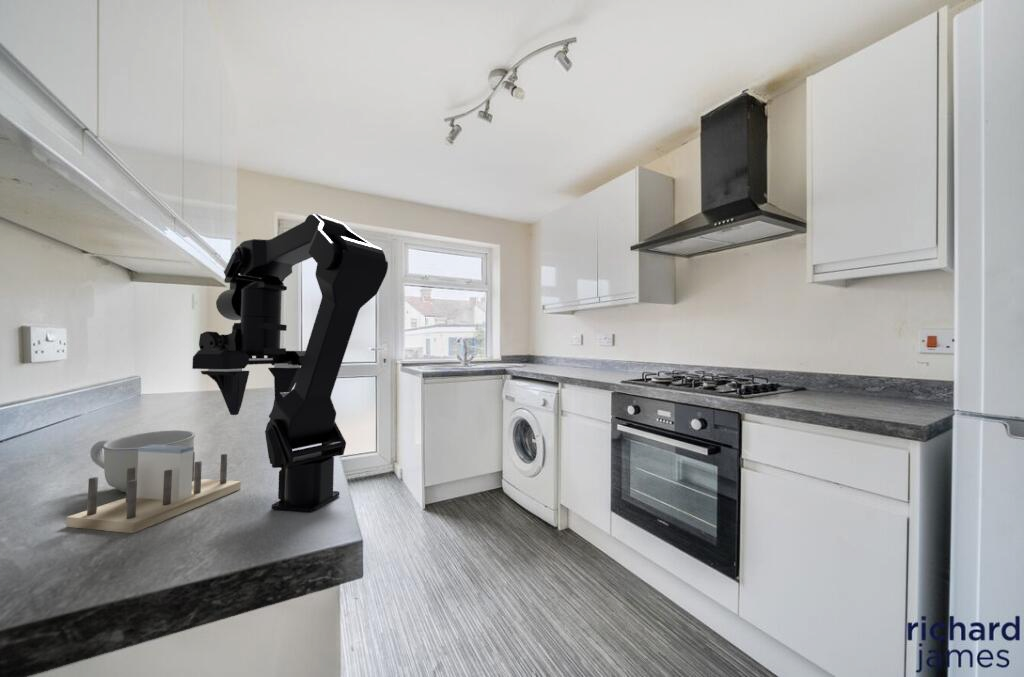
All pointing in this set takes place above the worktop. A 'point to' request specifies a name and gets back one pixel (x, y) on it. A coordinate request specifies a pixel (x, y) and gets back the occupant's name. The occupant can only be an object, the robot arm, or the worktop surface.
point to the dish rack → (149, 502)
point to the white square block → (156, 462)
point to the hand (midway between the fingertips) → (258, 410)
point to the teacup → (132, 452)
